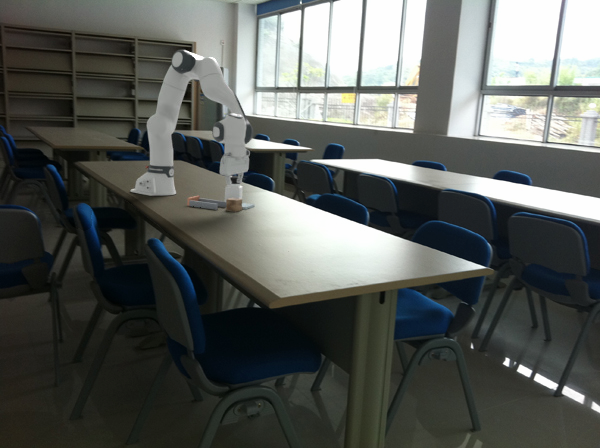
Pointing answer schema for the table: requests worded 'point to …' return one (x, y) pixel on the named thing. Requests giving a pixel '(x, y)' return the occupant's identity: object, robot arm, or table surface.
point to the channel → (205, 203)
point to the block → (233, 204)
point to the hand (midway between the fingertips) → (234, 184)
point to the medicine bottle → (233, 189)
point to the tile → (247, 206)
